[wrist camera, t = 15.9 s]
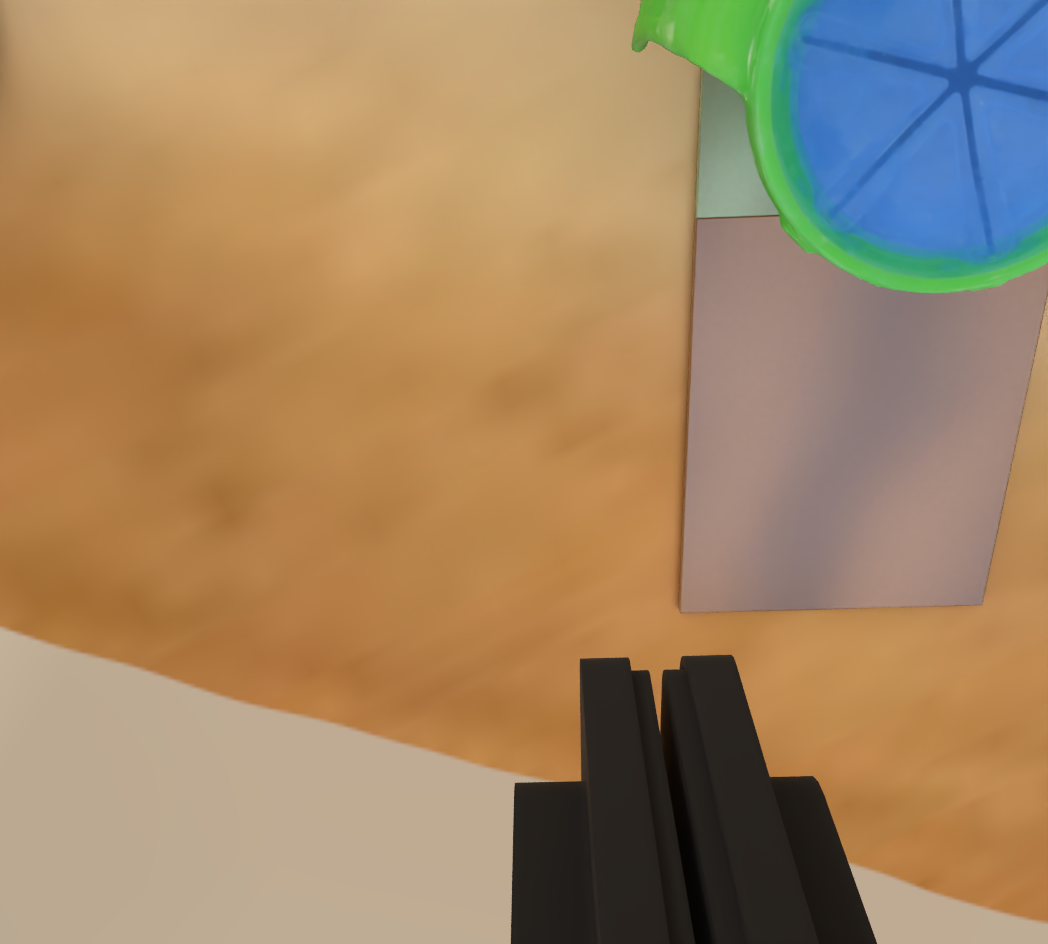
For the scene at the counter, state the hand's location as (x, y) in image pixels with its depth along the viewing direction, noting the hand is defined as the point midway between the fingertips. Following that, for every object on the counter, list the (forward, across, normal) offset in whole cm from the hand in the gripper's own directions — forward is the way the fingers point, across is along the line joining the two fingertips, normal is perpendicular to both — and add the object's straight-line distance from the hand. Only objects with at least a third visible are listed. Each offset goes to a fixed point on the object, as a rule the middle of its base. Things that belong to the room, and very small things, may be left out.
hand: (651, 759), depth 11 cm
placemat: (+27, -11, +3) cm, 29 cm away
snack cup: (+27, -9, -5) cm, 29 cm away
